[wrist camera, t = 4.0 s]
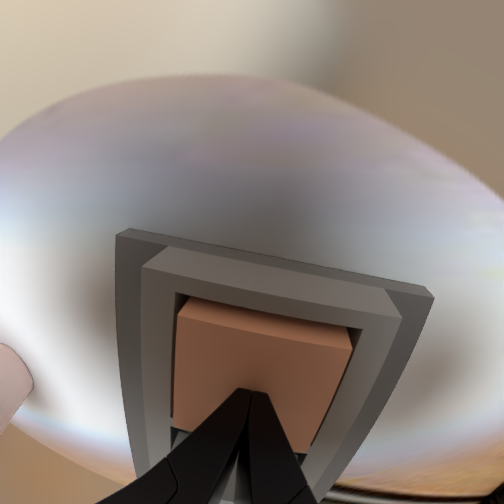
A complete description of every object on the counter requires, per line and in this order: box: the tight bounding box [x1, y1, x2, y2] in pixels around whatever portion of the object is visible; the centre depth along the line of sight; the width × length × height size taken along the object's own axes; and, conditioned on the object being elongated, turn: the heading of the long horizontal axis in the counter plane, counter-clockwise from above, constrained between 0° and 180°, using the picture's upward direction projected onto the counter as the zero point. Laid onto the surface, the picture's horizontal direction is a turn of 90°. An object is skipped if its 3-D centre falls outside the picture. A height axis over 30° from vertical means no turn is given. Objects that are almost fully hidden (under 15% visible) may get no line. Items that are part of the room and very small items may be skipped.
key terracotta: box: [173, 296, 352, 453], centre depth 9 cm, size 4×4×2 cm
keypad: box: [115, 228, 434, 503], centre depth 12 cm, size 11×17×3 cm, turn 170°
